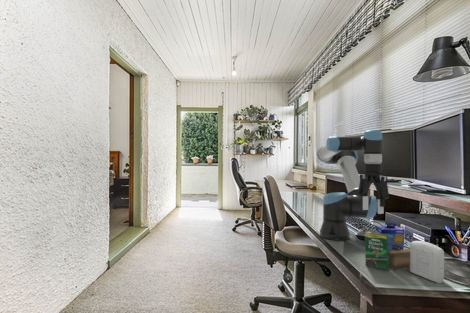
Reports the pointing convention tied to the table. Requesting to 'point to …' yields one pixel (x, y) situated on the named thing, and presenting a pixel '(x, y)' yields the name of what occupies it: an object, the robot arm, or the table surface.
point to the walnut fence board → (399, 259)
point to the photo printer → (427, 261)
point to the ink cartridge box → (392, 236)
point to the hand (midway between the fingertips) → (372, 211)
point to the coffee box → (376, 250)
